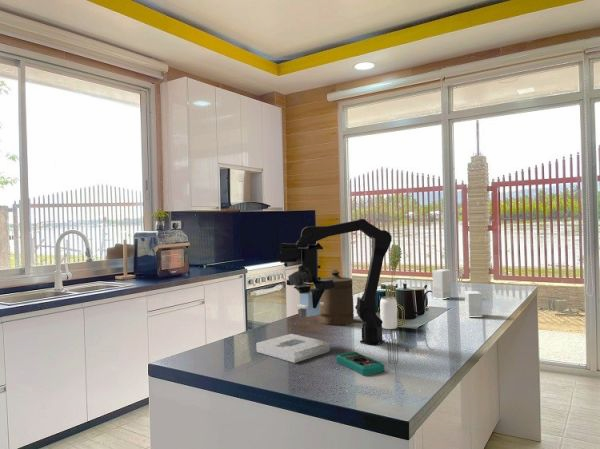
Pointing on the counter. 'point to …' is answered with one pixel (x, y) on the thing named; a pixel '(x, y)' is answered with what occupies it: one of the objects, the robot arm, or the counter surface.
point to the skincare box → (441, 283)
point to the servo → (307, 305)
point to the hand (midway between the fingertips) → (310, 307)
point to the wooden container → (337, 301)
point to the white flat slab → (293, 347)
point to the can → (388, 312)
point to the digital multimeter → (360, 363)
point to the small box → (473, 303)
